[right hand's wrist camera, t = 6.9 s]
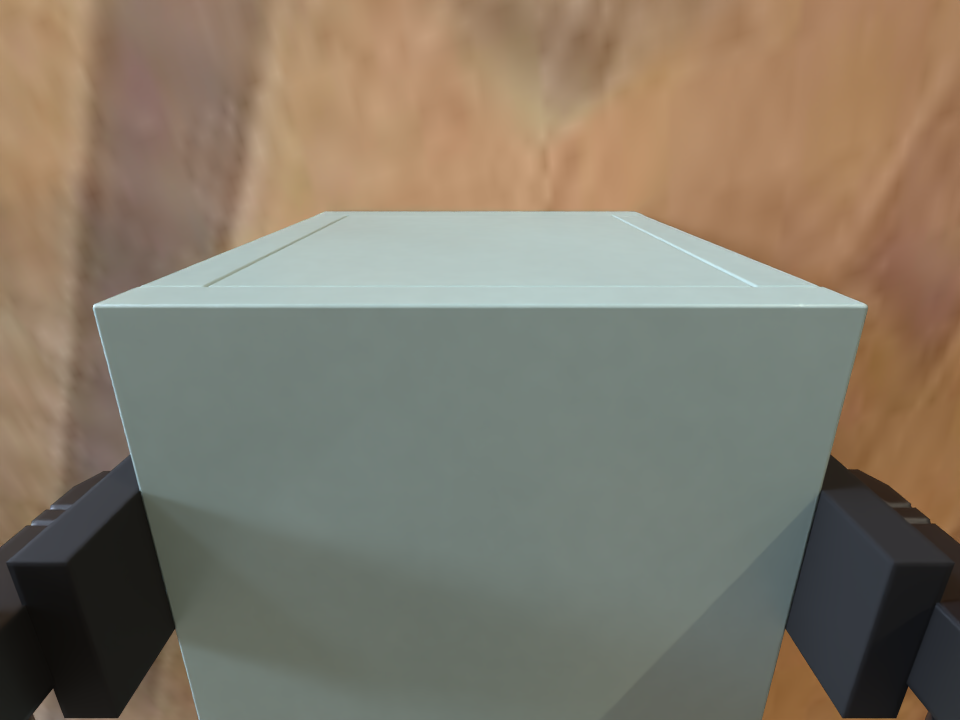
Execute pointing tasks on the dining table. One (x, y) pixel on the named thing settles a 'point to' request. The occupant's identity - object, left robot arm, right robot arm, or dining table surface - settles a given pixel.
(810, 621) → the right robot arm
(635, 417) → the cabinet
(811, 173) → the dining table surface
